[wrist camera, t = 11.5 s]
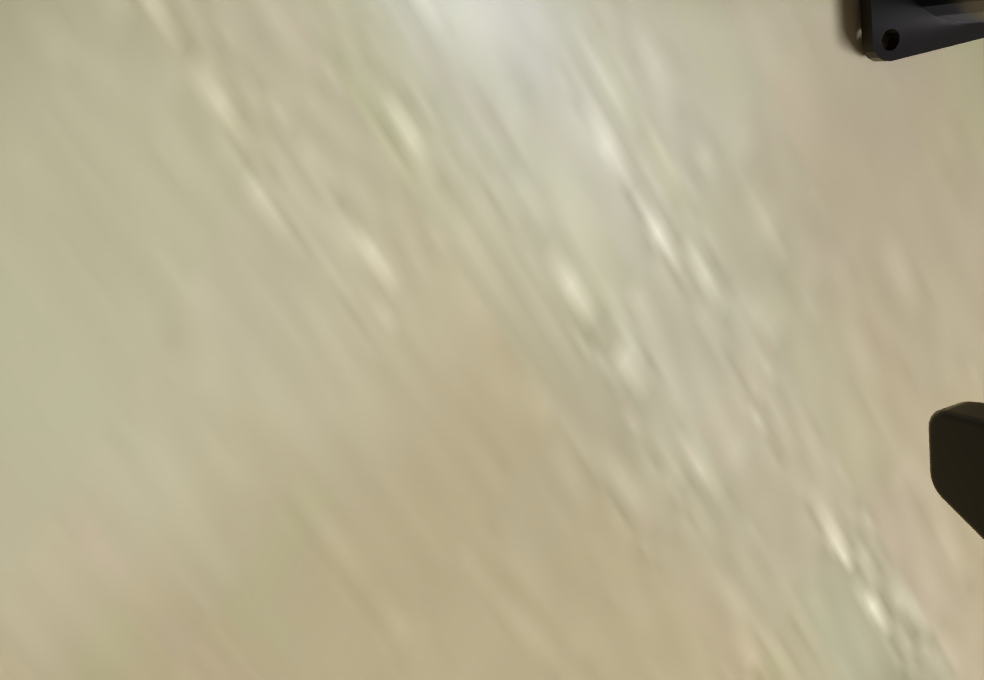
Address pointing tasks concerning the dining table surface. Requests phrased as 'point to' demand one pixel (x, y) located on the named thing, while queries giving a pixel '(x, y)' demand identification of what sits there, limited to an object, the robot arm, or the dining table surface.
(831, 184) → the dining table surface
